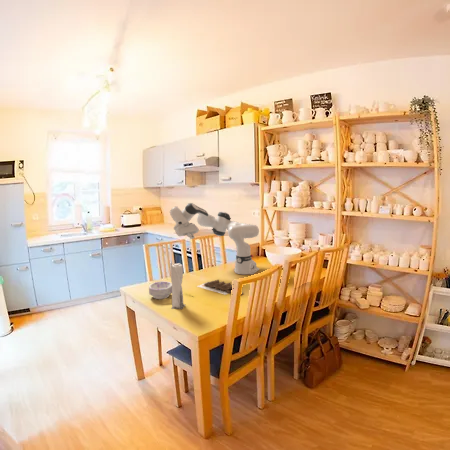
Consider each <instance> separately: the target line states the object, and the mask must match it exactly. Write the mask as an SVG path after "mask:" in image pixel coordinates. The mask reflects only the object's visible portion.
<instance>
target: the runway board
mask: <svg viewBox="0 0 450 450" xmlns="http://www.w3.org/2000/svg"><path fill="white" fill-rule="evenodd" d="M207 282H208V281H207ZM207 282H205V283H207ZM205 283H204V282H203V283H201V284H199V285H196V288H201V289H205V290H207V291H210V292H211V291H212V292H215V293H218V294H222V295H224V296H226V295H228V294H229V293H227V290H224V291H221V289H216V288H215V287H212V288H210V287H209V286H204V284H205Z"/></svg>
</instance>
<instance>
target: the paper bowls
mask: <svg viewBox="0 0 450 450" xmlns="http://www.w3.org/2000/svg"><path fill="white" fill-rule="evenodd" d="M148 294H149V295H150V296H151V297H153V299H156V300H164V299H167V298H168V297H170V295H172V282H171V281H166V280H165V281H155V282H152V283H150V284H149V285H148Z"/></svg>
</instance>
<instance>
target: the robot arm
mask: <svg viewBox="0 0 450 450" xmlns="http://www.w3.org/2000/svg"><path fill="white" fill-rule="evenodd" d="M169 213H170V216H171V218H172V220H173V221H174V222H175V225H174V226H173V230H174V231H175V233H176V236H178V237H184V236H187V237H188V238H189V239H190V240H194V238H195V235H194V234H198V233H199V231H200V229H199V228H198V226H197V224H198V225H199V226H201V227H206V228H211V230H212V232H213V234H214V235H216V236H217V237H223V236H225V234H226V231H227V234H228V237H229V238H230V239H231V240H232V241H233V242H234V243H235V246H236V255H235V256H236V257H235V262H234V269H233V271H234V273H235V274H238V275H254V274H255V273H257V272H259V270H260V267H257V262H256V261H255V260H253V259H252V258H254V254H251V245H250V244H249V243H247V242H245V239H252V238H256V237H258V235H259V232H260V229H259V227H258V226H257V224H251V223H243V222H238V221H234V220H231V219H232V217H231V216H230V214H229V213H228V212H227V211H219V212H218V214H217V215H216V216H217V217H215V216H213V215H211V214H209V213H208V211H207V210H205V209H203V207H200V206H198V205H196V204H195V203H193V202H189V203H187V204H186V206H184V208H183V209H182V210H181V209H180V208H179V207H178V206H174V207H172V208H171V209H170V211H169ZM197 214H198V215H197ZM195 215H197V217H196V222H197V224H195V223H193V222H190V221H191V220H192V218H194V217H195Z"/></svg>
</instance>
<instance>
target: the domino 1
mask: <svg viewBox="0 0 450 450" xmlns="http://www.w3.org/2000/svg"><path fill="white" fill-rule="evenodd" d="M219 282H220V279H216V280H212V281H207V283H206V282H205V284H204V283H203V284H204V286H209V285H213V284H216V283H219Z"/></svg>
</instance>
